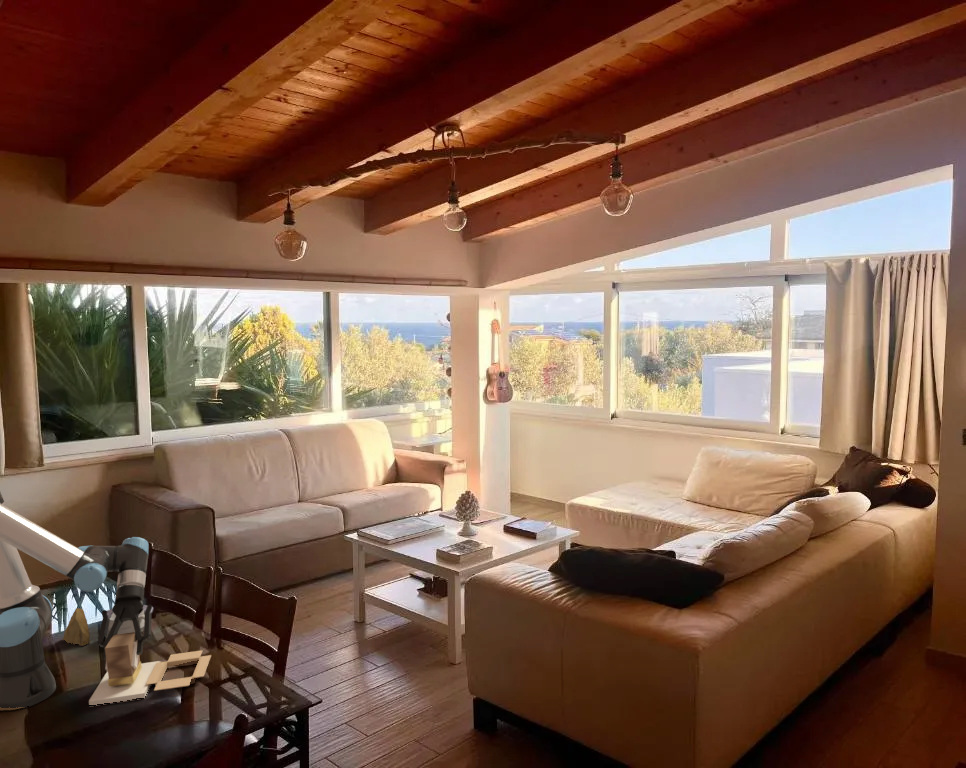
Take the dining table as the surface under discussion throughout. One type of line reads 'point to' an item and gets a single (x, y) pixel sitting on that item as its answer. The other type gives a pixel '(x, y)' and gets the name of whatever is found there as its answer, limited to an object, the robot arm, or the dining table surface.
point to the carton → (176, 660)
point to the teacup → (128, 624)
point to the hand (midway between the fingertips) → (121, 668)
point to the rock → (77, 629)
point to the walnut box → (121, 659)
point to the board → (123, 688)
